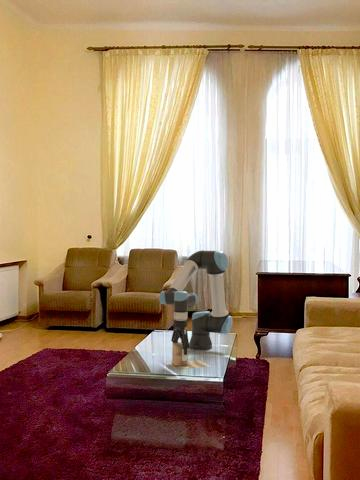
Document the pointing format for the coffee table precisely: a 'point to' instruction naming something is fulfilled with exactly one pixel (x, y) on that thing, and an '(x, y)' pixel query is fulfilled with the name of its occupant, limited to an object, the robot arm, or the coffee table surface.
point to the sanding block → (178, 355)
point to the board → (190, 364)
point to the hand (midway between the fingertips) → (179, 357)
